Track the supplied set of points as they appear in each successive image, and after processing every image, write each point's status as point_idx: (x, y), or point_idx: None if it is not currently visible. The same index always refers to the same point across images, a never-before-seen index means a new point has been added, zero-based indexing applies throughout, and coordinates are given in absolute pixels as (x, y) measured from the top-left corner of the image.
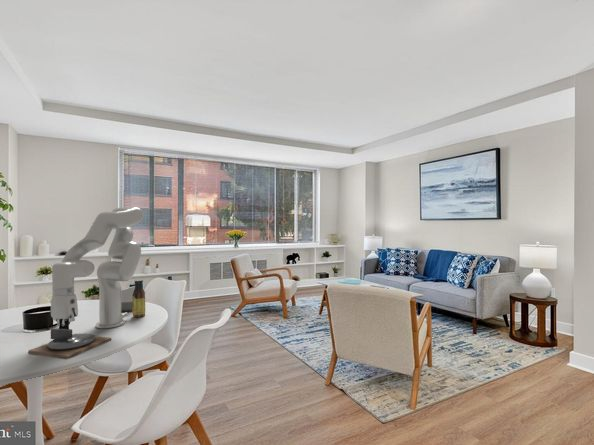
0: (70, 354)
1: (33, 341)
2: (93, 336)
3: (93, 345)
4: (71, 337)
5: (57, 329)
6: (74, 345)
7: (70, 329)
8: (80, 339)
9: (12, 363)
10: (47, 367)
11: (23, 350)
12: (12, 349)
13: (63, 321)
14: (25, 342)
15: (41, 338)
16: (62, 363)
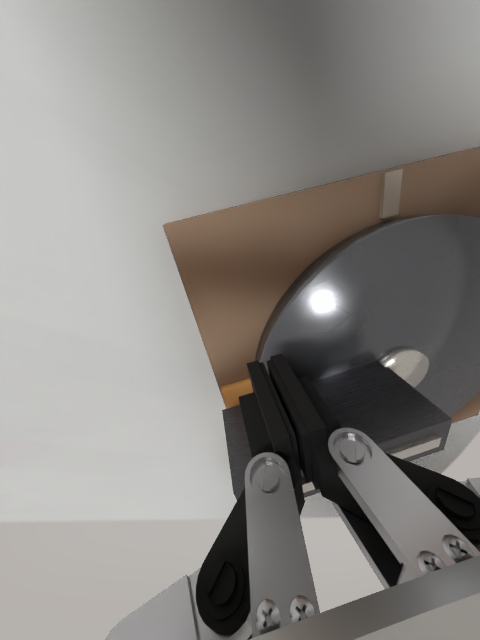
0: (476, 406)
1: (49, 439)
2: None
3: None
4: (390, 374)
5: (314, 488)
6: (475, 391)
7: (436, 428)
8: (442, 334)
9: (307, 507)
10: (446, 456)
11: (192, 481)
12: (128, 505)
13: (394, 557)
14: (33, 466)
15: (3, 399)
16: (472, 426)
